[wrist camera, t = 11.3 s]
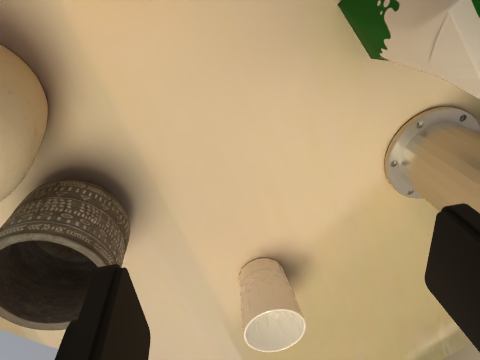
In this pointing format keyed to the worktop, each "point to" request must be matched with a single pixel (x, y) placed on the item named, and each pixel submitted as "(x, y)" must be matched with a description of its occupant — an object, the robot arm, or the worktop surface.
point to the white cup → (269, 307)
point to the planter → (58, 251)
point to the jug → (19, 120)
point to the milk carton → (422, 36)
